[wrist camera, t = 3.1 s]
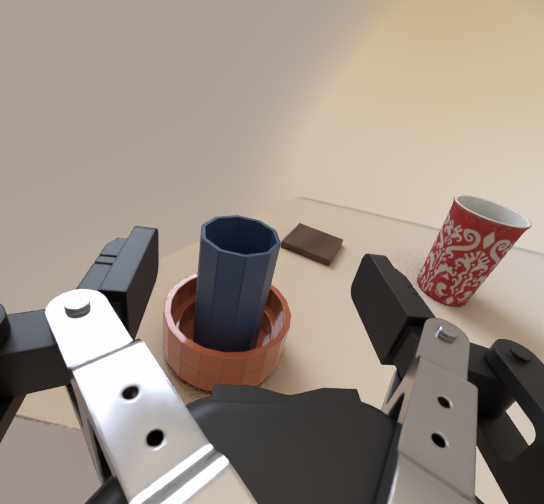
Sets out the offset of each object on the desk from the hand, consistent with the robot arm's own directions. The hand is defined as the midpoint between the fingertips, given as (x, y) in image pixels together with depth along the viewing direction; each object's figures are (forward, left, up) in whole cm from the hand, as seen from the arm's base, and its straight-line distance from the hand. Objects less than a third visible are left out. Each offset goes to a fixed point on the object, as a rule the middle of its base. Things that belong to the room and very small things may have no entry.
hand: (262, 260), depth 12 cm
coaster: (-5, +35, -18) cm, 39 cm away
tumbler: (-6, +10, -17) cm, 21 cm away
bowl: (-6, +10, -18) cm, 21 cm away
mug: (+15, +38, -18) cm, 45 cm away
